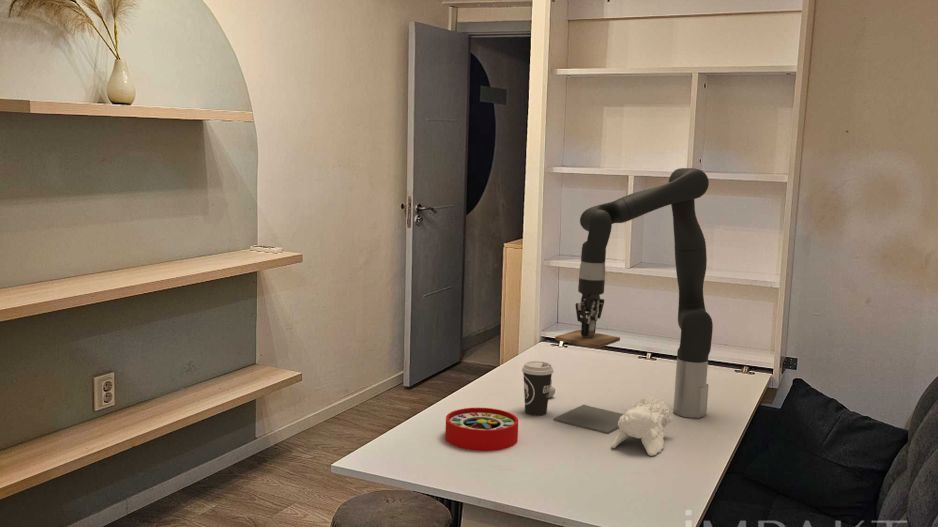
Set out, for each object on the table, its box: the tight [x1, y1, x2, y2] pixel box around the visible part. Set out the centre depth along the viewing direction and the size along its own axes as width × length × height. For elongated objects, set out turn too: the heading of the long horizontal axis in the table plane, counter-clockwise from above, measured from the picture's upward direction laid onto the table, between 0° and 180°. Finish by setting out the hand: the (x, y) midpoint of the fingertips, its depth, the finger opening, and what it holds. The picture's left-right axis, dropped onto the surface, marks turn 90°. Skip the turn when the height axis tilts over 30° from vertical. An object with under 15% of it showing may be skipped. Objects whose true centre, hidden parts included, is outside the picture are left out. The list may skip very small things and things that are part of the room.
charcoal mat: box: [552, 404, 625, 435], centre depth 259 cm, size 18×18×1 cm
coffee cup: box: [521, 360, 554, 417], centre depth 263 cm, size 10×10×15 cm
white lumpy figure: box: [610, 396, 673, 457], centre depth 239 cm, size 13×12×20 cm
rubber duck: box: [548, 379, 556, 399], centre depth 280 cm, size 5×7×8 cm
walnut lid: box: [554, 319, 621, 349], centre depth 256 cm, size 14×14×6 cm
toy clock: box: [444, 407, 519, 452], centre depth 239 cm, size 20×6×20 cm
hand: (588, 334), depth 256 cm, fingers closed on walnut lid, 3 cm apart
